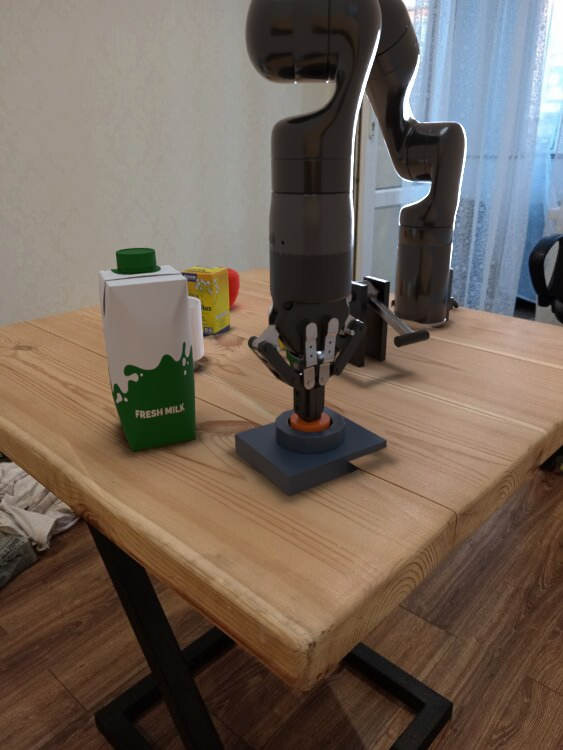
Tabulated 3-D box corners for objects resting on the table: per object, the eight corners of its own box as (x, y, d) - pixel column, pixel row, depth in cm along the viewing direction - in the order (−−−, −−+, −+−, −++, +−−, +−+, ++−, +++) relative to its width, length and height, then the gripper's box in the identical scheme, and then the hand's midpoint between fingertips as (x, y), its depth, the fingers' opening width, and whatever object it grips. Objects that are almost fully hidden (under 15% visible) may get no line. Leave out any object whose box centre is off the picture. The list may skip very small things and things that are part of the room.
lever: (425, 345, 75) (432, 330, 73) (397, 352, 72) (404, 337, 70) (369, 292, 81) (375, 278, 80) (342, 297, 79) (347, 283, 77)
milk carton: (185, 410, 70) (172, 244, 63) (206, 442, 62) (194, 257, 55) (111, 423, 67) (88, 250, 60) (124, 459, 59) (100, 265, 52)
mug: (142, 356, 88) (136, 297, 85) (201, 351, 90) (197, 293, 87) (143, 386, 77) (136, 319, 74) (210, 379, 79) (206, 314, 76)
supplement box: (184, 334, 98) (179, 271, 94) (201, 325, 104) (197, 264, 100) (214, 338, 96) (211, 273, 92) (231, 328, 102) (228, 267, 98)
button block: (325, 423, 66) (326, 391, 65) (385, 459, 59) (388, 424, 57) (235, 452, 60) (233, 418, 59) (289, 497, 53) (288, 458, 51)
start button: (313, 421, 61) (314, 406, 60) (337, 435, 58) (338, 420, 57) (282, 431, 59) (282, 415, 58) (305, 446, 56) (305, 430, 55)
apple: (203, 302, 119) (201, 264, 117) (244, 303, 118) (243, 265, 115) (191, 313, 111) (188, 273, 108) (235, 314, 110) (234, 274, 107)
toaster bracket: (406, 373, 81) (413, 283, 76) (363, 385, 77) (368, 291, 72) (359, 353, 89) (363, 271, 84) (318, 364, 84) (319, 278, 80)
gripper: (271, 257, 45) (274, 451, 52) (394, 242, 52) (383, 415, 58) (225, 245, 51) (233, 421, 57) (341, 233, 58) (337, 391, 64)
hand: (309, 418), depth 58 cm, fingers closed
